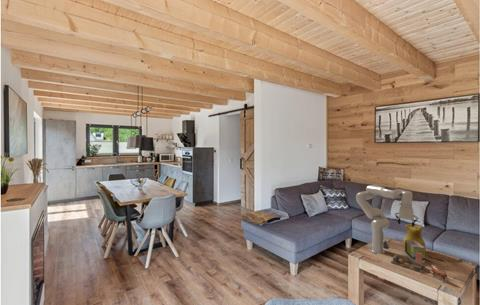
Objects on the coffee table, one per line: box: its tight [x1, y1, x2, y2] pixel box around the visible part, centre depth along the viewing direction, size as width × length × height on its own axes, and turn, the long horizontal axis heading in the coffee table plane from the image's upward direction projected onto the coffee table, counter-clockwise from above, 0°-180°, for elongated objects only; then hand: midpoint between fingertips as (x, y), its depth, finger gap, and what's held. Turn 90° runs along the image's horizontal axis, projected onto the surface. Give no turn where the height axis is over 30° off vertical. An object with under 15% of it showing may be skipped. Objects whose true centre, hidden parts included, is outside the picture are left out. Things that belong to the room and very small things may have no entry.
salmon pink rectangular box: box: [413, 252, 424, 270], centre depth 197 cm, size 5×8×13 cm, turn 133°
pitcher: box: [402, 223, 426, 248], centre depth 229 cm, size 17×19×25 cm
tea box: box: [404, 240, 426, 264], centre depth 214 cm, size 15×10×15 cm, turn 168°
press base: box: [390, 253, 426, 274], centre depth 202 cm, size 22×12×6 cm, turn 43°
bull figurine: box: [429, 264, 448, 283], centre depth 186 cm, size 4×13×8 cm, turn 7°
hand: (406, 225), depth 205 cm, fingers open, 9 cm apart
